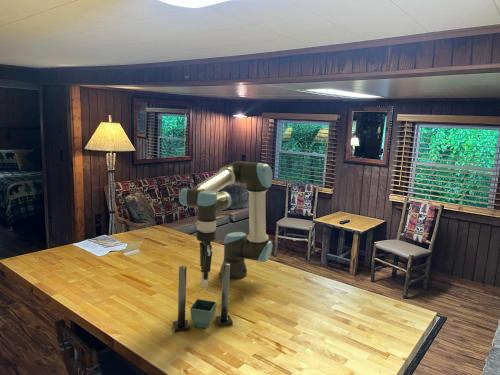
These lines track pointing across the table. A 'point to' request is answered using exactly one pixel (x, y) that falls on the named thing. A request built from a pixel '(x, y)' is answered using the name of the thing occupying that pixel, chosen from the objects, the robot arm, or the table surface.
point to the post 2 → (224, 298)
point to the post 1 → (181, 303)
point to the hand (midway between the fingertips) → (204, 285)
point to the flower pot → (202, 312)
